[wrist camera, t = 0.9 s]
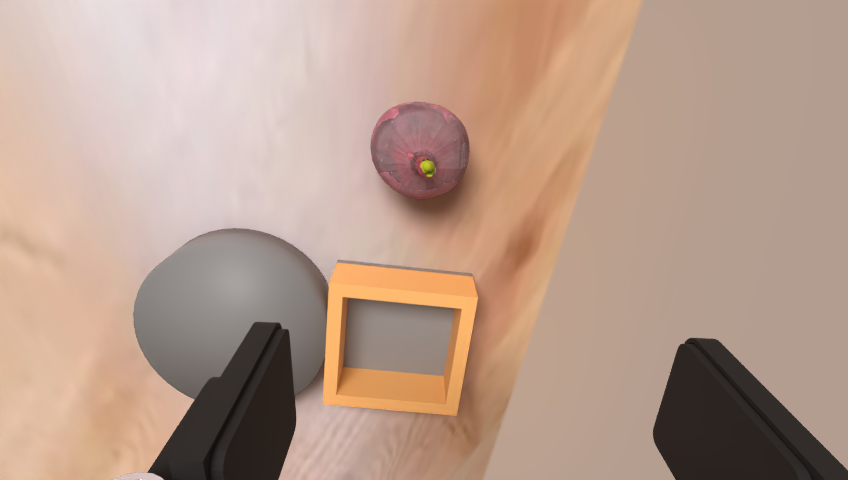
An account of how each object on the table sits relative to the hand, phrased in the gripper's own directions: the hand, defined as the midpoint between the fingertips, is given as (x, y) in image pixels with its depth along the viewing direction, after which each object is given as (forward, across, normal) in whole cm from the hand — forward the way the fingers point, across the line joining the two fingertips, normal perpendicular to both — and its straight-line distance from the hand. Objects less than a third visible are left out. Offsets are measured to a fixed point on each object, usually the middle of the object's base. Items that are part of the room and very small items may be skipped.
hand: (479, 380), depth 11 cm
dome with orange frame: (+23, +10, +13) cm, 29 cm away
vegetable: (+24, +2, -1) cm, 24 cm away
